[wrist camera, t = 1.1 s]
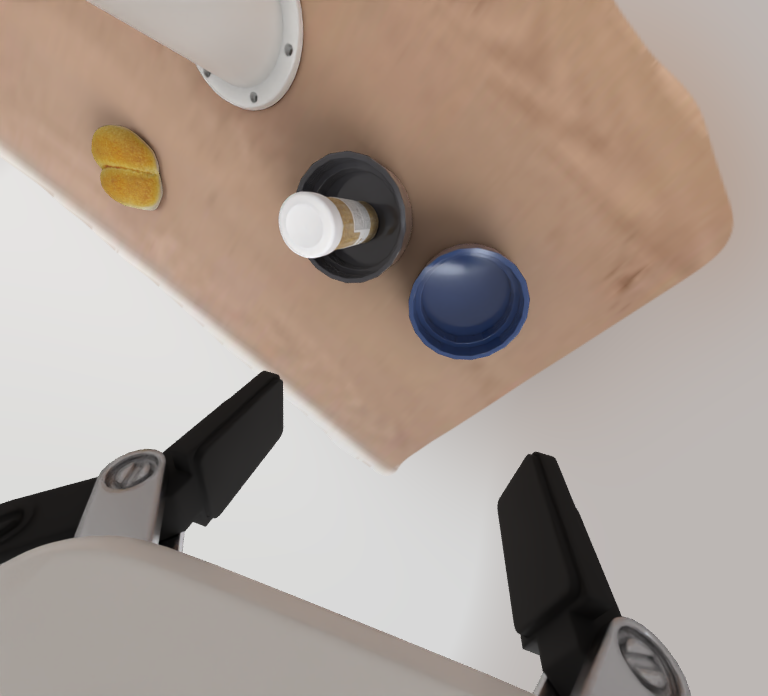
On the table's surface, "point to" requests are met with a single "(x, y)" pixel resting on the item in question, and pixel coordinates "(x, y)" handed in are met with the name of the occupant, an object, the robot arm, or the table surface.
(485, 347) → the navy bowl
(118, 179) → the bread roll
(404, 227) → the charcoal bowl
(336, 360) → the table surface
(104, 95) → the table surface
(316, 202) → the sprinkles bottle
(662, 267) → the table surface
